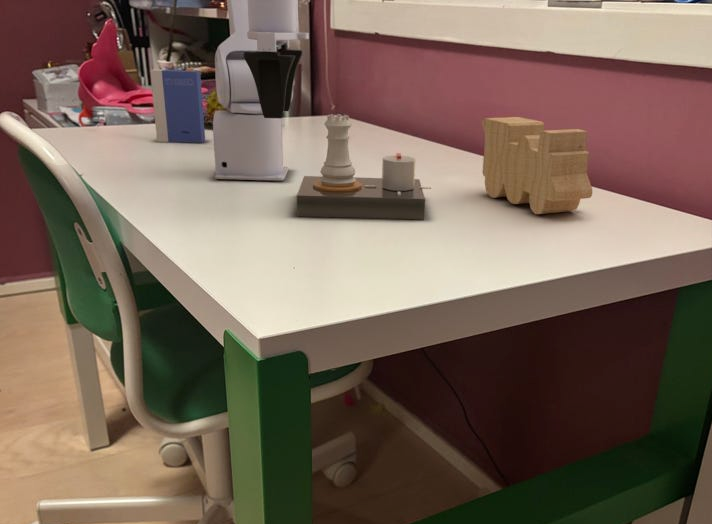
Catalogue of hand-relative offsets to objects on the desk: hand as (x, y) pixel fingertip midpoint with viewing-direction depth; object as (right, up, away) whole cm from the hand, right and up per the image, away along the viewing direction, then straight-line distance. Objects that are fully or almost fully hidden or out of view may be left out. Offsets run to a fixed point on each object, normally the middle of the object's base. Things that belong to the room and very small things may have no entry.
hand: (277, 114), depth 90 cm
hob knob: (+15, -9, +1) cm, 17 cm away
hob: (+10, -11, +2) cm, 15 cm away
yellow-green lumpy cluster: (-18, +17, +60) cm, 65 cm away
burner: (+7, -8, +1) cm, 11 cm away
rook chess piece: (+7, -8, +1) cm, 11 cm away
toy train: (+32, -10, +7) cm, 34 cm away
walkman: (-24, +8, +40) cm, 47 cm away
